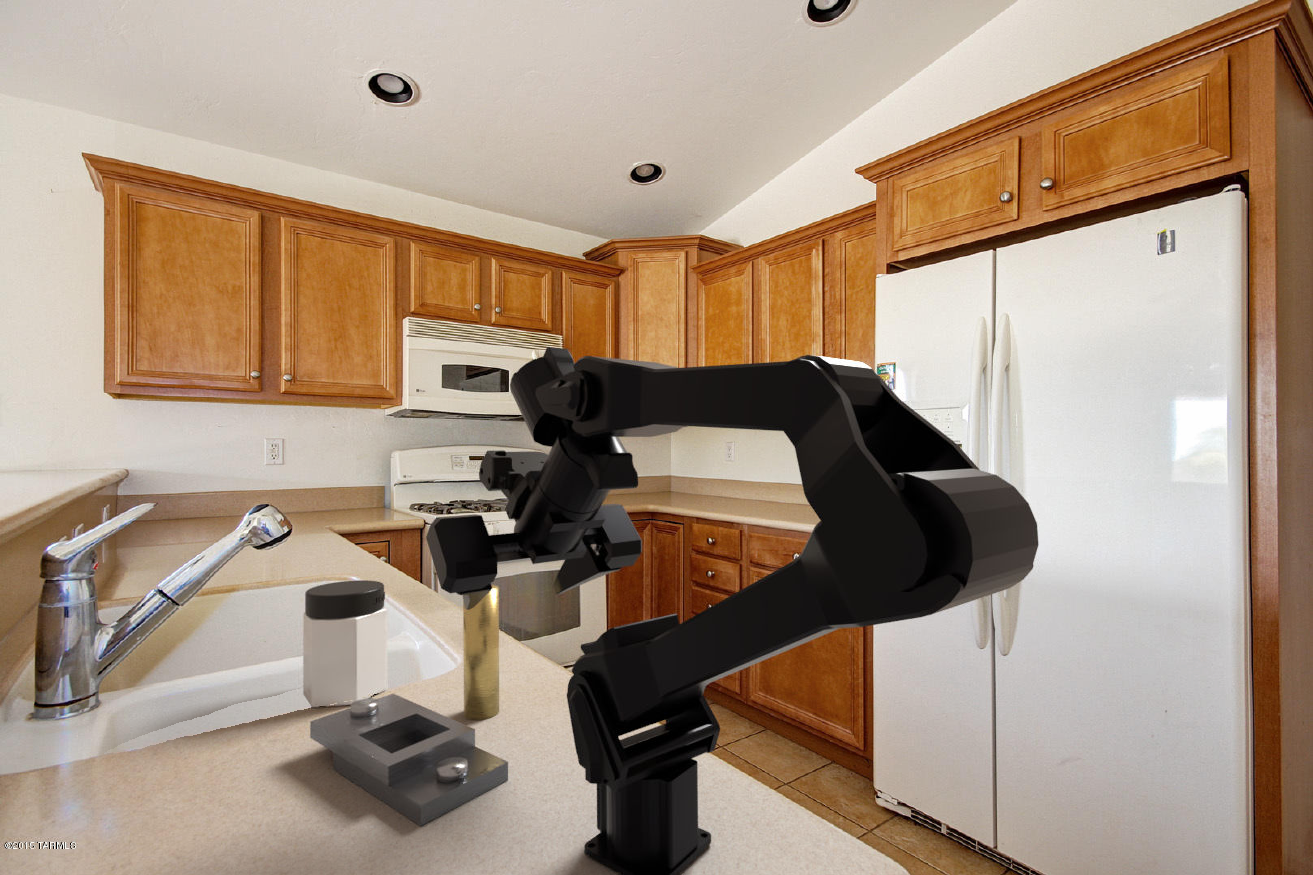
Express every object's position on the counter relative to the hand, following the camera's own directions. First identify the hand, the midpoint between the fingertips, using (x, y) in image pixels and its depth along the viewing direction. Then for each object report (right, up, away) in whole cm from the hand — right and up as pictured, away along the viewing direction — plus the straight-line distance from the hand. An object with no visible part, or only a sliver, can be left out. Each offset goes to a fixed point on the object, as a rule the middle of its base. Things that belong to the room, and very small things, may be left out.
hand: (513, 597), depth 60 cm
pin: (-5, -14, +6) cm, 16 cm away
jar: (-22, -14, +12) cm, 28 cm away
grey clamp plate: (-8, -13, -5) cm, 17 cm away
